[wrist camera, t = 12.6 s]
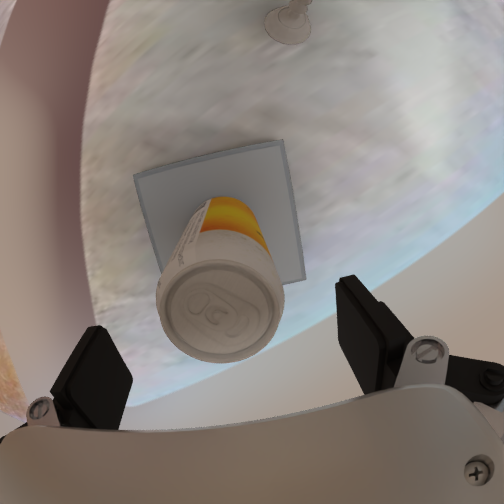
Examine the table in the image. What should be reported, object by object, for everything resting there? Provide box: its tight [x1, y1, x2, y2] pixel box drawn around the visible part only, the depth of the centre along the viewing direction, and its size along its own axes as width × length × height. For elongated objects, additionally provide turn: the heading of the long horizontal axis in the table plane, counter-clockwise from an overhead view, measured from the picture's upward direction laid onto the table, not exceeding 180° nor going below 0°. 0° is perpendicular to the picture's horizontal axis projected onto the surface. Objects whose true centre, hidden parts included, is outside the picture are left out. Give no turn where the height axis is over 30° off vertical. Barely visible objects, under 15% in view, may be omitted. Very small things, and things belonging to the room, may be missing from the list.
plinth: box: [133, 139, 306, 285], centre depth 28 cm, size 14×14×4 cm
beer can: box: [156, 196, 285, 363], centre depth 19 cm, size 6×6×15 cm
